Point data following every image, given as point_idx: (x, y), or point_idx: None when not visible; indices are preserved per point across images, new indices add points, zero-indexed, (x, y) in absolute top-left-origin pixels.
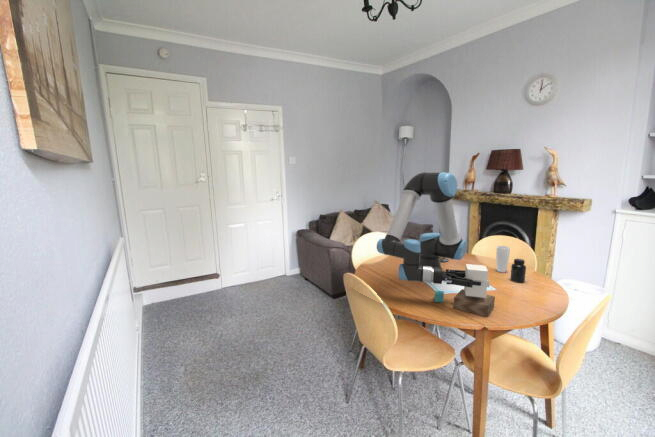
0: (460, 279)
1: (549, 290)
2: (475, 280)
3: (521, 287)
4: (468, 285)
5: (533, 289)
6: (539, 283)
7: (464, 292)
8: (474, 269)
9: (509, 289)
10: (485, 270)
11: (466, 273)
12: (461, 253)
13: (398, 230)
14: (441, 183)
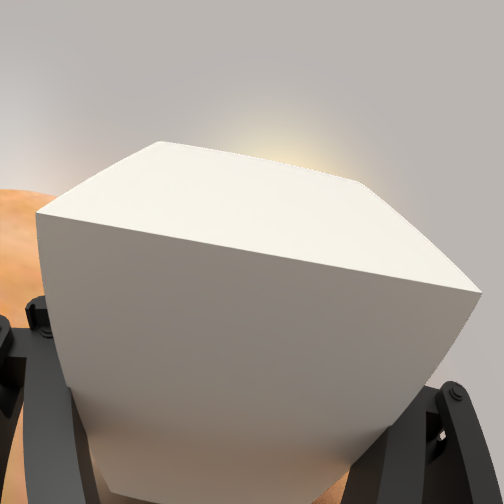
0: (472, 492)
1: (46, 204)
2: None
3: (5, 233)
4: (437, 435)
5: (28, 221)
6: (4, 202)
7: (117, 498)
8: (397, 227)
9: (3, 260)
10: (348, 183)
11: (312, 390)
12: None
13: None
14: None
